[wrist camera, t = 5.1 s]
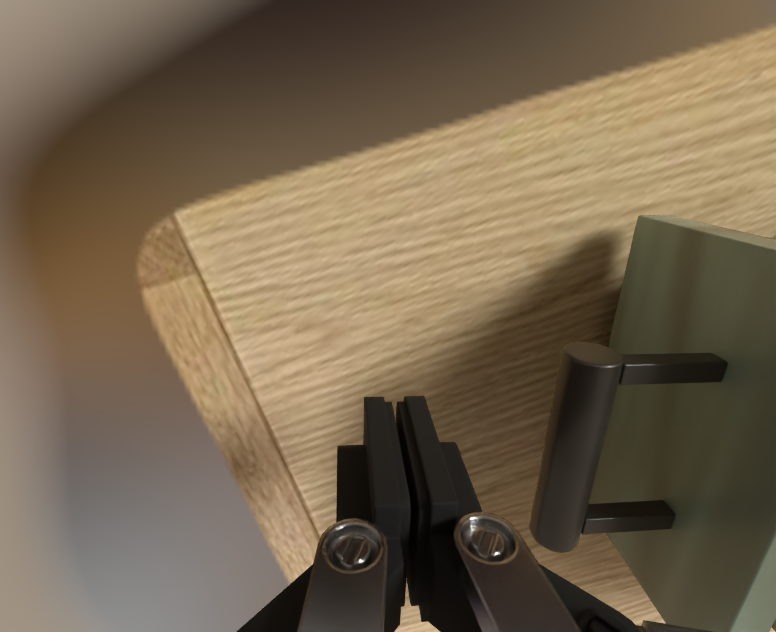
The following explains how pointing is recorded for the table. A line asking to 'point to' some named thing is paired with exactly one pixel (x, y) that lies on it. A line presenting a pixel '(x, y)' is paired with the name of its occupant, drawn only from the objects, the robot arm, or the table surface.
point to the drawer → (676, 428)
